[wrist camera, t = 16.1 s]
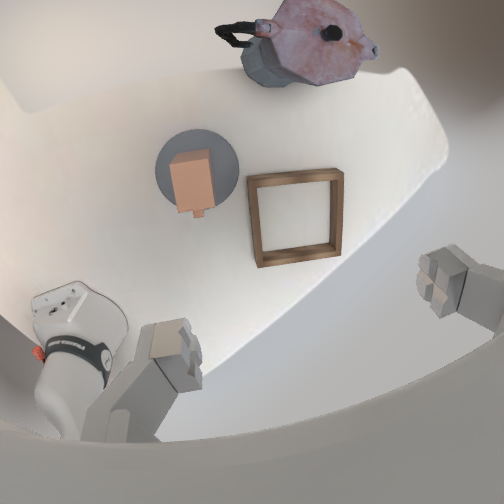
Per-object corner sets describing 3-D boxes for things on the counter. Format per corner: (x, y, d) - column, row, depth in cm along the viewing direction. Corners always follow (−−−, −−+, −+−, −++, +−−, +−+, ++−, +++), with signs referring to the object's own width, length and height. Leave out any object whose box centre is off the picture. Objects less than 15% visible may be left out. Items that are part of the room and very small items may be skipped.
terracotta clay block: (177, 153, 39) (169, 164, 32) (209, 148, 39) (208, 158, 32) (186, 202, 42) (180, 224, 35) (216, 198, 43) (216, 218, 36)
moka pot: (323, 93, 37) (401, 95, 20) (215, 93, 36) (216, 83, 18) (322, 35, 33) (397, 0, 15) (213, 31, 31) (214, -25, 14)
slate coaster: (164, 214, 43) (163, 216, 43) (150, 137, 38) (148, 138, 37) (242, 202, 44) (243, 204, 44) (233, 123, 38) (234, 124, 38)
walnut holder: (255, 258, 49) (257, 268, 47) (246, 176, 42) (248, 181, 40) (334, 247, 50) (340, 255, 47) (336, 168, 43) (343, 172, 41)
